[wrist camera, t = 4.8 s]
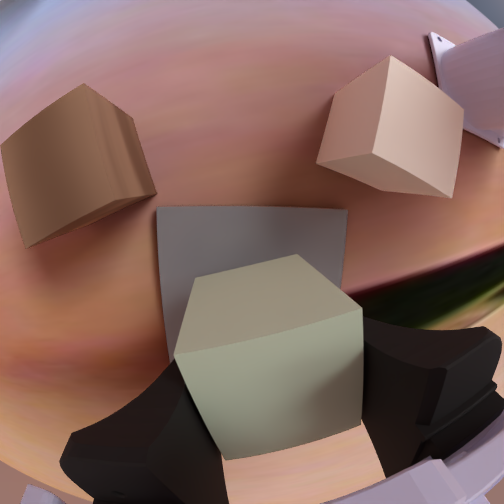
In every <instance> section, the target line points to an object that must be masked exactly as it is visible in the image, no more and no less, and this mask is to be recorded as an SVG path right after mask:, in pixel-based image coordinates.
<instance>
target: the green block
mask: <svg viewBox="0 0 504 504" xmlns="http://www.w3.org/2000/svg"><path fill="white" fill-rule="evenodd" d="M174 358H175V360H176V362H177V365H178V367H179V369H180V372H181V374H182V376H183V379H184V381H185V383H186V385H187V387H188V390H189V392H190V394H191V396H192V398H193V400H194V402H195V404H196V406H197V408H198V410H199V412H200V414H201V416H202V418H203V420H204V422H205V424H206V426H207V428H208V430H209V432H210V434H211V436H212V438H213V439H214V441H215V443H216V445H217V447H218V448H219V450H220V452H221V454H222V455H223V457H224V459H225V460H232V459H239V458H245V457H251V456H256V455H261V454H266V453H271V452H275V451H280V450H284V449H288V448H292V447H296V446H299V445H303V444H306V443H310V442H313V441H316V440H320V439H323V438H326V437H329V436H332V435H335V434H338V433H341V432H343V431H346V430H349V429H351V428H354V427H356V426H359V425H361V416H362V399H363V315H362V307H360V306H359V305H358V304H357V303H356V302H354V301H353V300H352V299H351V298H350V297H349V296H347V295H346V294H345V293H344V292H343V291H341V290H340V289H339V288H338V287H337V286H335V285H334V284H333V283H332V282H331V281H329V280H328V279H327V278H326V277H325V276H323V275H322V274H321V273H320V272H319V271H317V270H316V269H315V268H314V267H313V266H311V265H310V264H309V263H308V262H306V261H305V260H304V259H303V258H302V257H300V256H299V255H298V254H295V255H291V256H287V257H282V258H278V259H274V260H270V261H266V262H261V263H257V264H253V265H249V266H244V267H240V268H236V269H232V270H227V271H223V272H219V273H214V274H210V275H206V276H201V277H197V278H195V281H194V284H193V287H192V291H191V294H190V297H189V301H188V304H187V308H186V311H185V315H184V318H183V322H182V325H181V329H180V332H179V336H178V340H177V343H176V347H175V351H174Z"/></svg>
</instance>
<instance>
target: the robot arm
mask: <svg viewBox="0 0 504 504" xmlns="http://www.w3.org/2000/svg"><path fill="white" fill-rule="evenodd" d="M428 37H429V41H430V45H431V49H432V54H433V58H434V63H435V68H436V74H437V80H438V86H439V89H440V90H442V91H443V92H444V93H445V94H447V95H448V96H449V97H450V98H451V99H453V100H454V101H455V102H456V103H457V104H458V105H460V106H461V107H462V108H463V109H464V119H463V129H464V130H467V131H469V132H471V133H473V134H475V135H477V136H479V137H481V138H483V139H485V140H487V141H489V142H490V143H492V144H494V145H496V146H498V147H500V148H501V149H504V28H501V29H498V30H496V31H493V32H490V33H487V34H485V35H482V36H479V37H477V38H474V39H472V40H469V41H467V42H464V43H462V44H459V45H457V46H456V45H454V44H453V43H451V42H449V41H448V40H446V39H444V38H442V37H441V36H439V35H437V34H435V33H434V32H430V33H429V34H428ZM501 350H502V341H501V338H500V337H499V336H497V335H496V334H495V333H493V332H492V331H490V330H489V329H487V328H486V327H484V326H481V327H474V328H467V329H460V330H423V329H412V328H406V327H400V326H395V325H391V324H386V323H383V322H379V321H376V320H373V319H370V318H367V317H364V316H363V399H362V416H361V419H362V421H363V423H364V425H365V427H366V430H367V432H368V434H369V436H370V439H371V441H372V443H373V445H374V448H375V450H376V453H377V455H378V458H379V460H380V463H381V466H382V468H383V471H384V474H385V477H386V479H384V480H382V481H380V482H377V483H375V484H373V485H371V486H368V487H366V488H363V489H361V490H358V491H356V492H353V493H351V494H348V495H345V496H342V497H339V498H337V499H333V500H330V501H327V502H324V503H321V504H490V503H489V501H488V500H487V499H486V497H485V496H484V495H485V494H486V493H487V492H488V491H490V490H491V489H492V488H493V487H494V486H495V485H496V484H497V483H498V482H499V481H500V480H501V479H503V478H504V398H502V397H501V396H500V395H499V394H498V393H497V392H496V391H495V390H496V388H497V384H496V383H495V382H494V381H492V378H493V375H494V372H495V370H496V367H497V364H498V361H499V358H500V355H501ZM59 462H60V466H61V468H62V470H63V471H64V473H65V474H66V475H67V476H68V477H69V478H70V479H71V480H72V481H73V482H74V483H75V484H77V485H78V486H79V487H80V488H81V489H83V490H84V491H85V492H86V493H88V494H89V495H90V496H91V497H93V498H94V501H93V504H229V501H228V496H227V490H226V485H225V479H224V472H223V465H222V458H221V452H220V450H219V448H218V447H217V445H216V443H215V441H214V439H213V438H212V436H211V434H210V432H209V430H208V428H207V426H206V424H205V422H204V420H203V418H202V416H201V414H200V412H199V410H198V408H197V406H196V404H195V402H194V400H193V398H192V396H191V394H190V392H189V390H188V387H187V385H186V383H185V381H184V379H183V376H182V374H181V372H180V369H179V367H178V365H177V362H176V360H175V358H174V360H173V361H172V362H171V363H170V365H169V366H168V367H167V368H166V369H165V370H164V371H163V373H162V374H161V375H160V376H159V377H158V378H157V379H156V380H155V381H154V382H153V383H152V384H151V385H150V386H149V387H148V388H147V389H146V390H145V391H144V392H143V393H141V394H140V395H139V396H138V397H137V398H135V399H134V400H132V401H131V402H130V403H128V404H127V405H126V406H124V407H123V408H121V409H120V410H118V411H117V412H115V413H113V414H112V415H110V416H108V417H107V418H105V419H103V420H101V421H99V422H97V423H95V424H93V425H90V426H88V427H86V428H83V429H81V430H78V431H76V432H73V433H71V436H70V438H69V440H68V442H67V444H66V447H65V449H64V451H63V454H62V456H61V458H60V461H59ZM20 504H66V503H65V502H64V501H63V500H61V499H60V498H59V497H58V496H56V495H55V494H53V493H51V492H49V491H47V490H44V489H41V488H39V487H36V486H34V485H31V484H28V485H27V488H26V490H25V493H24V495H23V498H22V500H21V503H20Z"/></svg>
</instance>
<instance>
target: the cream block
mask: <svg viewBox="0 0 504 504" xmlns="http://www.w3.org/2000/svg"><path fill="white" fill-rule="evenodd" d="M463 119H464V109H463V108H462V107H461V106H460V105H458V104H457V103H456V102H455V101H454V100H453V99H451V98H450V97H449V96H448V95H447V94H445V93H444V92H443V91H442V90H440V89H439V88H438V87H436V86H435V85H434V84H433V83H431V82H430V81H429V80H427V79H426V78H424V77H423V76H422V75H420V74H419V73H417V72H416V71H414V70H413V69H412V68H410V67H409V66H407V65H405V64H404V63H402V62H401V61H399V60H398V59H396V58H394V57H393V56H391V55H390V56H388V57H387V58H385V59H384V60H382V61H381V62H379V63H378V64H376V65H375V66H373V67H372V68H370V69H369V70H367V71H366V72H364V73H363V74H361V75H360V76H358V77H357V78H356V79H354V80H353V81H351V82H350V83H349V84H347V85H346V86H344V87H343V88H342V89H340V90H339V91H337V92H336V93H335V94H334V98H333V102H332V105H331V109H330V113H329V117H328V121H327V124H326V128H325V132H324V135H323V139H322V143H321V146H320V150H319V153H318V157H317V160H316V164H318V165H321V166H323V167H326V168H329V169H331V170H334V171H336V172H339V173H341V174H344V175H346V176H349V177H351V178H353V179H356V180H358V181H360V182H363V183H365V184H367V185H370V186H372V187H374V188H376V189H378V190H381V191H389V192H400V193H410V194H419V195H428V196H436V197H444V198H452V195H453V191H454V186H455V181H456V175H457V169H458V163H459V156H460V149H461V141H462V131H463Z"/></svg>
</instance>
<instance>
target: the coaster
mask: <svg viewBox="0 0 504 504" xmlns="http://www.w3.org/2000/svg"><path fill="white" fill-rule="evenodd" d="M347 216H348V210H346V209H334V208H314V207H287V206H237V205H198V206H158V207H157V239H158V258H159V273H160V285H161V296H162V306H163V315H164V324H165V332H166V339H167V346H168V353H169V360H170V363H171V362H172V361H173V360H174V351H175V347H176V343H177V340H178V336H179V332H180V329H181V325H182V322H183V318H184V315H185V311H186V308H187V304H188V301H189V297H190V294H191V291H192V287H193V284H194V281H195V278H197V277H201V276H206V275H210V274H214V273H219V272H223V271H227V270H232V269H236V268H240V267H244V266H249V265H253V264H257V263H261V262H266V261H270V260H274V259H278V258H282V257H287V256H291V255H295V254H298V255H299V256H300V257H302V258H303V259H304V260H305V261H306V262H308V263H309V264H310V265H311V266H313V267H314V268H315V269H316V270H317V271H319V272H320V273H321V274H322V275H323V276H325V277H326V278H327V279H328V280H329V281H331V282H332V283H333V284H334V285H335V286H337V287H338V288H339V289H340V287H341V280H342V271H343V262H344V253H345V242H346V230H347Z"/></svg>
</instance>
